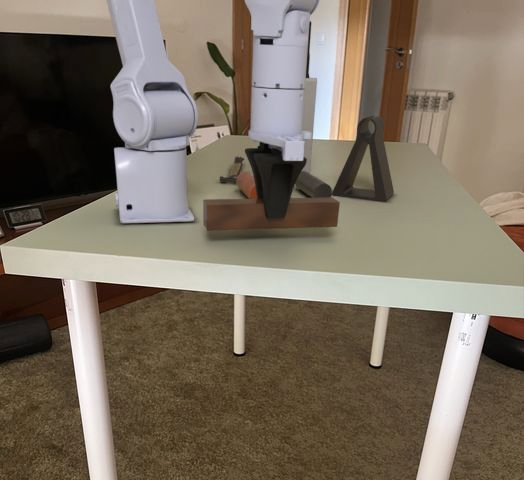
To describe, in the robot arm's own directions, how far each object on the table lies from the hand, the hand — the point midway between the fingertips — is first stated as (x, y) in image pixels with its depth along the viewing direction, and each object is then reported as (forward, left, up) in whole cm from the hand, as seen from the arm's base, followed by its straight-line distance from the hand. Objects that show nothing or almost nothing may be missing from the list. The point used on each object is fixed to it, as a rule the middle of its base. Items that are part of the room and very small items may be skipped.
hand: (271, 214), depth 66 cm
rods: (+8, +23, -3) cm, 25 cm away
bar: (0, 0, -1) cm, 1 cm away
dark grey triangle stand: (+22, +23, -3) cm, 32 cm away
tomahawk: (+6, +43, -3) cm, 43 cm away
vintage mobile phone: (+15, +36, -3) cm, 39 cm away
